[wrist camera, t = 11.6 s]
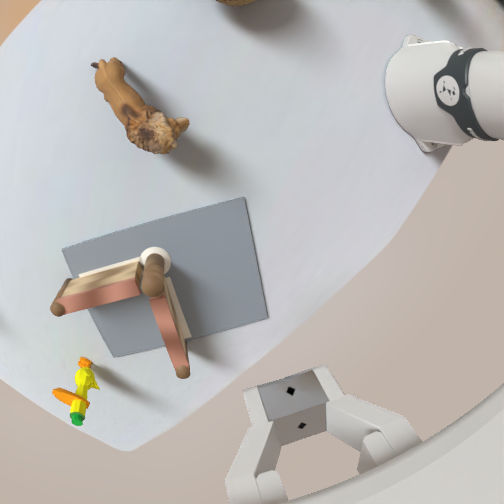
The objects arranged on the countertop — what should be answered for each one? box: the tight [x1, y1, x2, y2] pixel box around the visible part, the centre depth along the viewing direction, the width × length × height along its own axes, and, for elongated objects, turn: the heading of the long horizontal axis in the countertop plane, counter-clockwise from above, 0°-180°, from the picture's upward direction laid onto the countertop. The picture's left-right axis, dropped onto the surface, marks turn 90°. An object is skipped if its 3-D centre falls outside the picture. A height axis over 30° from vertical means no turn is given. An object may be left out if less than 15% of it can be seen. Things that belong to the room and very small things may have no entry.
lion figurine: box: [91, 57, 189, 154], centre depth 26 cm, size 15×5×9 cm, turn 43°
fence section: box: [50, 253, 165, 317], centre depth 34 cm, size 15×2×7 cm, turn 101°
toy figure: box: [52, 357, 99, 426], centre depth 35 cm, size 7×4×12 cm, turn 56°
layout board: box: [62, 197, 268, 357], centre depth 39 cm, size 24×18×1 cm
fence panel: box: [149, 276, 190, 379], centre depth 37 cm, size 12×2×6 cm, turn 8°
